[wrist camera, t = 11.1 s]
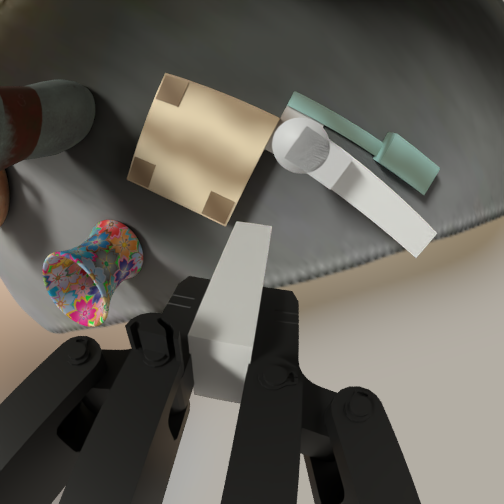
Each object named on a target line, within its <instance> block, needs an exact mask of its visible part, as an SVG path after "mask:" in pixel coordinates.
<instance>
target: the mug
mask: <svg viewBox="0 0 504 504" xmlns="http://www.w3.org/2000/svg"><path fill="white" fill-rule="evenodd" d="M142 264H143V251H142V247H141V245H140V242H139V240H138V239H137V237H136V235H135V234H134V233H133V232H132V231H131V230H130V229H129V228H128V227H127V226H126V225H124V224H122V223H120V222H118V221H115V220H104V221H101V222H99V223H97V224H96V225H95V226H94V228H93V229H92V231H91V233H90V236H89V238H88V239H87V240H86V241H85V242H84V243H82V244H81V245H79V246H77V247H75V248H73V249H70V250H66V251H59V252H54V253H51V254H50V255H48V256H47V258H46V259H45V261H44V264H43V279H44V283H45V286H46V289H47V291H48V293H49V295H50V297H51V298H52V300H53V301H54V303H55V304H56V305H57V307H58V308H59V309H60V310H61V311H62V312H63V313H64V314H65V315H67V316H68V317H69V318H70V319H72V320H73V321H75V322H77V323H79V324H81V325H84V326H89V327H95V326H99V325H101V324H102V323H103V322H104V321H105V320H106V318H107V315H108V310H109V304H110V300H111V297H112V295H113V293H114V291H115V289H116V288H117V286H118V285H119V284H120V283H121V282H122V281H124V280H125V279H130V278H132V277H134V276H135V275H137V274H138V273H139V271H140V270H141V267H142Z"/></svg>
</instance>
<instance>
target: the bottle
mask: <svg viewBox="0 0 504 504" xmlns="http://www.w3.org/2000/svg"><path fill="white" fill-rule="evenodd" d="M94 117H95V102H94V98H93V95H92V94H91V92H90V91H89V89H88V88H86V87H84V86H83V85H81V84H79V83H77V82H73V81H67V80H50V81H44V82H39V83H35V84H31V85H27V86H4V87H0V171H2V170H4V169H6V168H8V167H10V166H12V165H14V164H16V163H18V162H20V161H22V160H26V159H34V158H40V157H46V156H52V155H56V154H59V153H61V152H63V151H65V150H67V149H69V148H71V147H73V146H74V145H76V144H77V143H78V142H80V141H81V140H83V139H84V138H85V136H86V135H87V134H88V133H89V131H90V129H91V127H92V125H93V121H94Z"/></svg>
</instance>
